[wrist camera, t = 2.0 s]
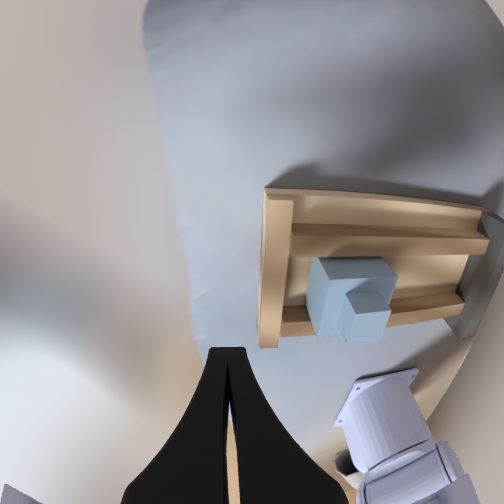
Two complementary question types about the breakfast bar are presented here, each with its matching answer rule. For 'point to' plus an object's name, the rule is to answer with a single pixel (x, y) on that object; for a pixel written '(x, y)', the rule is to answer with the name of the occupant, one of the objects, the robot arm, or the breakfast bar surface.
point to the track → (378, 244)
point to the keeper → (350, 297)
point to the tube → (348, 469)
